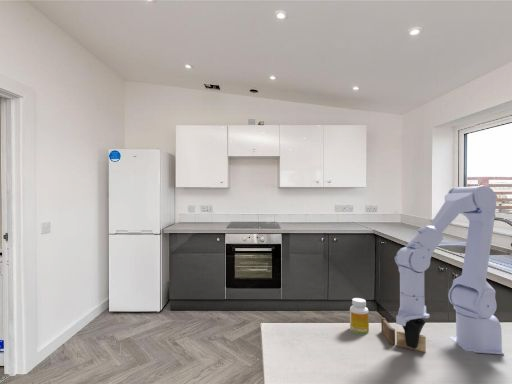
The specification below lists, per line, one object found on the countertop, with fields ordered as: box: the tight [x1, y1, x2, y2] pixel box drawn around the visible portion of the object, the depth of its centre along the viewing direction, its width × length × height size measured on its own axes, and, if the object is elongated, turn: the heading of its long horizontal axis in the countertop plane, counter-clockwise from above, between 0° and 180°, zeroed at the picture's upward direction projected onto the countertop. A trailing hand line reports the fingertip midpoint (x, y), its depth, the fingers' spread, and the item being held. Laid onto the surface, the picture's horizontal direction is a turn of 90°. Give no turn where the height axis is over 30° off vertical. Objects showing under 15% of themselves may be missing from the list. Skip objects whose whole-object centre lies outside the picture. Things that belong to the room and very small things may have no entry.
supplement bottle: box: [349, 297, 370, 335], centre depth 87 cm, size 5×5×10 cm
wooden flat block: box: [395, 329, 427, 353], centre depth 77 cm, size 7×1×4 cm, turn 60°
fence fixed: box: [380, 317, 396, 346], centre depth 83 cm, size 2×9×5 cm, turn 172°
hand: (412, 346), depth 75 cm, fingers closed, pressing on wooden flat block
